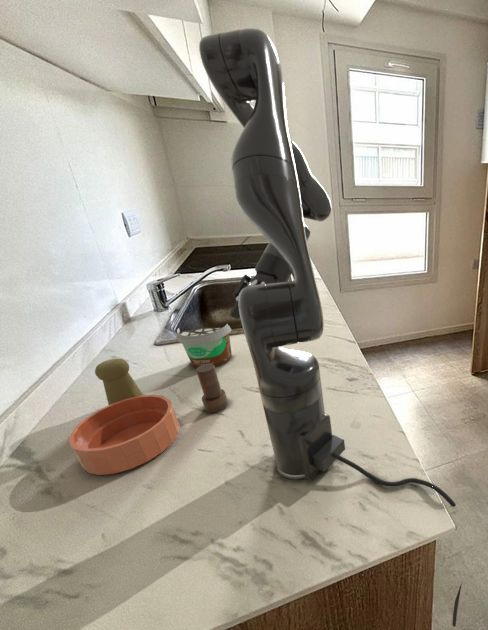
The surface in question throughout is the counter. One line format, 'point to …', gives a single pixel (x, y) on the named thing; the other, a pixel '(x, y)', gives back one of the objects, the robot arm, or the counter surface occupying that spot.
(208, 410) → the pestle
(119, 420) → the bowl
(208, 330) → the food container
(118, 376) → the olive knobbed tapered cylinder
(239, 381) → the counter surface
